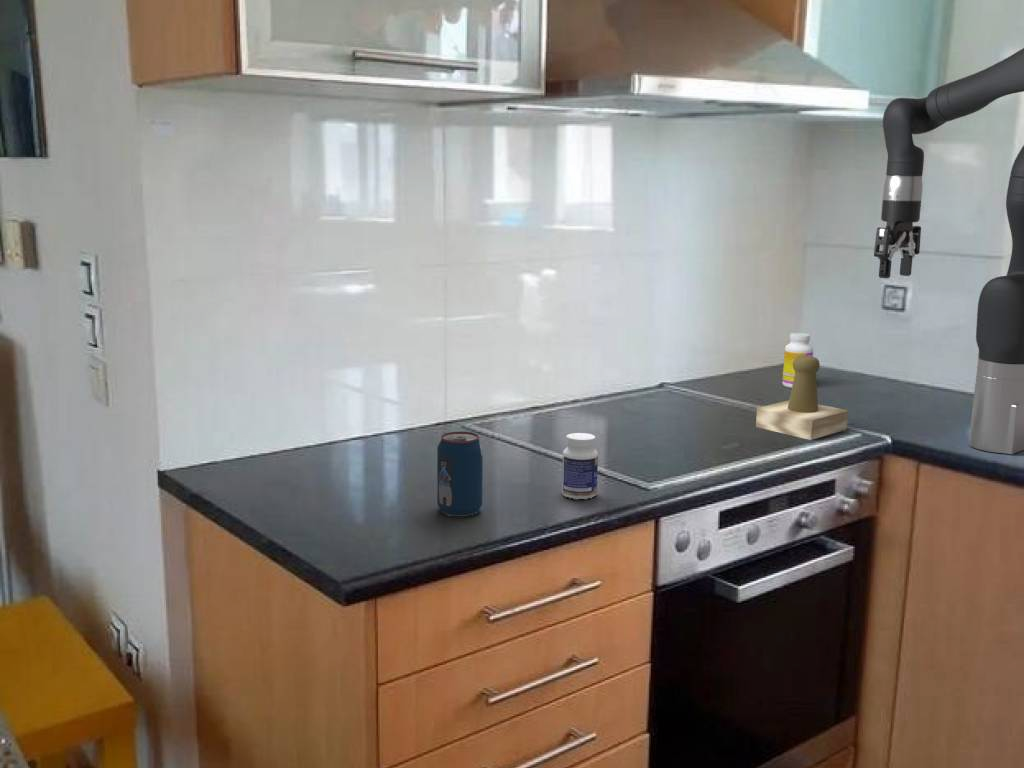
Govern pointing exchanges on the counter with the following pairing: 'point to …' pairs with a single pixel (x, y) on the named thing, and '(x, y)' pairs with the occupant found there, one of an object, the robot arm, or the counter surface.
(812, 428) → the block
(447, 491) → the soda can
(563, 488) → the pill bottle
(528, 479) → the counter surface
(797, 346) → the supplement bottle
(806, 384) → the cork
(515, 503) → the counter surface
